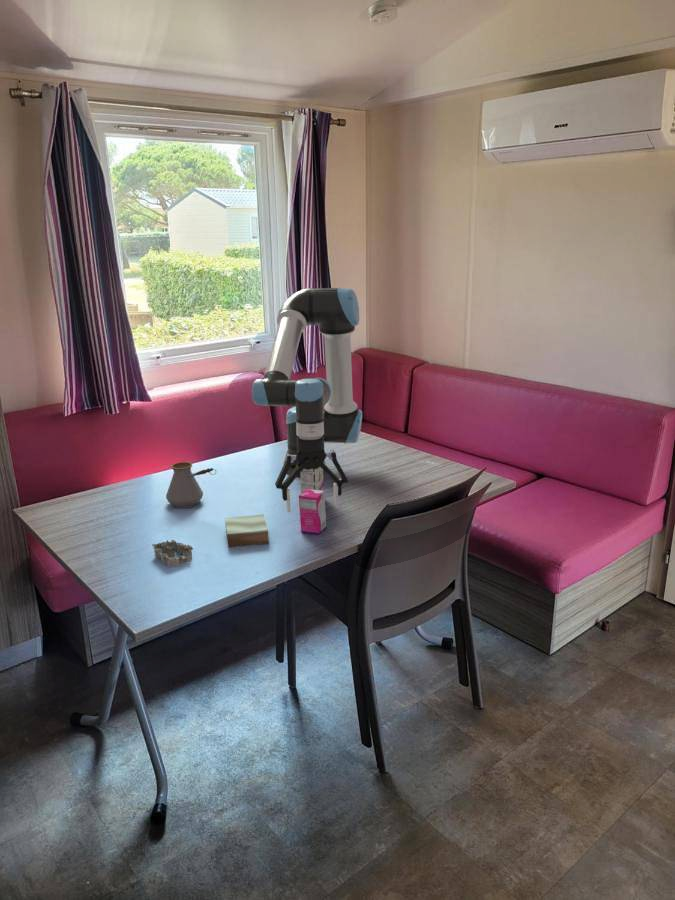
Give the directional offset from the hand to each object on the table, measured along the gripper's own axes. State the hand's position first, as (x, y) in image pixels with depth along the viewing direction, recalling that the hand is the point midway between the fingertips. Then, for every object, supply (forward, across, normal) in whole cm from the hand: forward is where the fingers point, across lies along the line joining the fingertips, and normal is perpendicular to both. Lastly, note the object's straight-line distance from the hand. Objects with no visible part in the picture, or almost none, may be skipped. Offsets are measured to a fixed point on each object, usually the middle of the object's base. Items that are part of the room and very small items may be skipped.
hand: (312, 508), depth 188 cm
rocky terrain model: (+8, -39, -8) cm, 40 cm away
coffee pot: (+7, -33, +26) cm, 43 cm away
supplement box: (+7, 0, 0) cm, 7 cm away
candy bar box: (+7, +3, +18) cm, 20 cm away
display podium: (+7, -19, 0) cm, 20 cm away
